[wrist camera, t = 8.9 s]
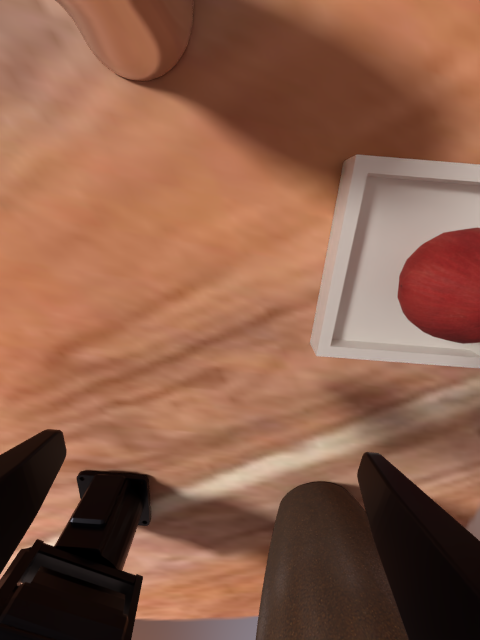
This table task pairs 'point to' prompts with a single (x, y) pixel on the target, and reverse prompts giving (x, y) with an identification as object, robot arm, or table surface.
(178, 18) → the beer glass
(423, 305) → the onion
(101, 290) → the table surface
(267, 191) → the table surface
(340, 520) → the plant pot
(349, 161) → the dish
